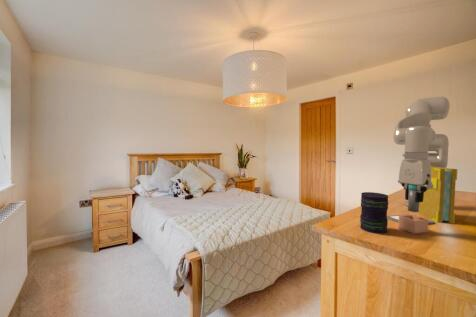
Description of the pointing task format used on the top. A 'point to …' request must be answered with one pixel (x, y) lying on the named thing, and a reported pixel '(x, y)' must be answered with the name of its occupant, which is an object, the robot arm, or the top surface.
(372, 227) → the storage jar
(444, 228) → the top surface
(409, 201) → the cylinder
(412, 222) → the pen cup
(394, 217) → the writing mat
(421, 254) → the top surface
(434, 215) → the book
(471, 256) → the top surface
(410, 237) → the top surface
